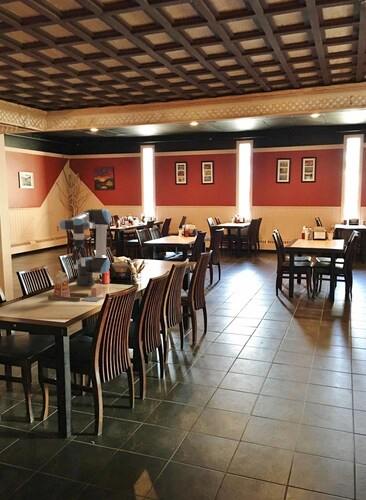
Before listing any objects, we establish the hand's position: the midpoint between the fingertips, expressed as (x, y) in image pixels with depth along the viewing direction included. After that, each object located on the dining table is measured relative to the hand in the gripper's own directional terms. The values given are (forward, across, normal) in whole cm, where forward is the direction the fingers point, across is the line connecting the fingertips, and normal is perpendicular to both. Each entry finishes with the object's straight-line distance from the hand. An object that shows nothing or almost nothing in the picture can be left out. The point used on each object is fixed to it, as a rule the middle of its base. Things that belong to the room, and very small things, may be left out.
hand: (79, 267), depth 315 cm
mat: (+22, +8, +13) cm, 27 cm away
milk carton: (+22, +7, -11) cm, 26 cm away
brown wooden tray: (+22, +7, -6) cm, 24 cm away
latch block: (+22, -6, +10) cm, 25 cm away
